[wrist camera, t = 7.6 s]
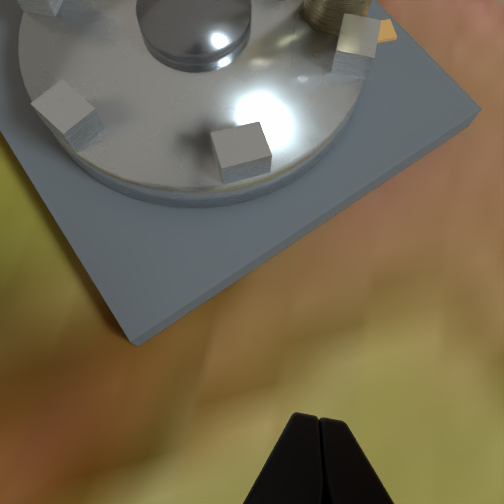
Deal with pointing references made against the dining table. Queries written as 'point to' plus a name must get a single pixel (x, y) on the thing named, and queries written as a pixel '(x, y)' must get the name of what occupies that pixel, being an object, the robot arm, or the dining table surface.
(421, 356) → the dining table surface
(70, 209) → the housing plate
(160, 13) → the metal disc with post
